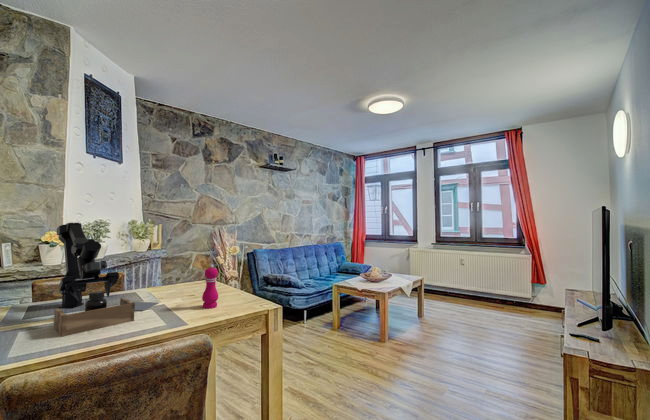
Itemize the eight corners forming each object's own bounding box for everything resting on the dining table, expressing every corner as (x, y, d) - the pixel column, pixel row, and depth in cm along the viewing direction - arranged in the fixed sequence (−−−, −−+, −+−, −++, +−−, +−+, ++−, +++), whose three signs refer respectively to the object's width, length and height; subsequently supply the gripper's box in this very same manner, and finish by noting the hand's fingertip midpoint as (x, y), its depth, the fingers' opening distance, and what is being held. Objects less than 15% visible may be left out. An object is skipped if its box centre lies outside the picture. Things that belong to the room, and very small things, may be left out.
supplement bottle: (86, 328, 113) (88, 295, 113) (81, 324, 117) (82, 292, 117) (108, 323, 118) (110, 292, 118) (102, 319, 122) (103, 289, 122)
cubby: (53, 327, 112) (54, 308, 112) (122, 313, 130) (123, 297, 130) (61, 336, 104) (62, 316, 105) (134, 320, 122) (134, 303, 122)
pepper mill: (220, 305, 147) (222, 263, 147) (213, 309, 140) (215, 265, 140) (206, 304, 147) (208, 262, 148) (198, 308, 140) (200, 265, 141)
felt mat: (116, 310, 134) (116, 309, 134) (133, 302, 146) (134, 301, 146) (142, 311, 134) (142, 310, 134) (158, 303, 146) (158, 302, 146)
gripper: (62, 256, 115) (68, 290, 108) (119, 252, 130) (127, 282, 123) (56, 274, 120) (62, 307, 113) (111, 268, 135) (119, 298, 127)
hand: (94, 298), depth 119 cm, fingers open, 9 cm apart
